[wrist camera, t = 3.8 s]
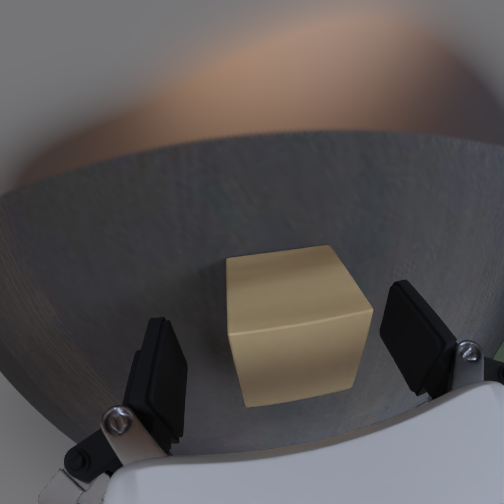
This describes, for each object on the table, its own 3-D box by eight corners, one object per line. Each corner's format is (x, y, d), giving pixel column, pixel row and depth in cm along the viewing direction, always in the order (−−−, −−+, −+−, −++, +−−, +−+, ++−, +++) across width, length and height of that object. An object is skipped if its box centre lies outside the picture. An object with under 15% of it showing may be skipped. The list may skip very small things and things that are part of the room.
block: (225, 257, 11) (227, 334, 8) (329, 243, 12) (374, 309, 8) (239, 333, 14) (245, 408, 10) (324, 319, 14) (352, 388, 10)
